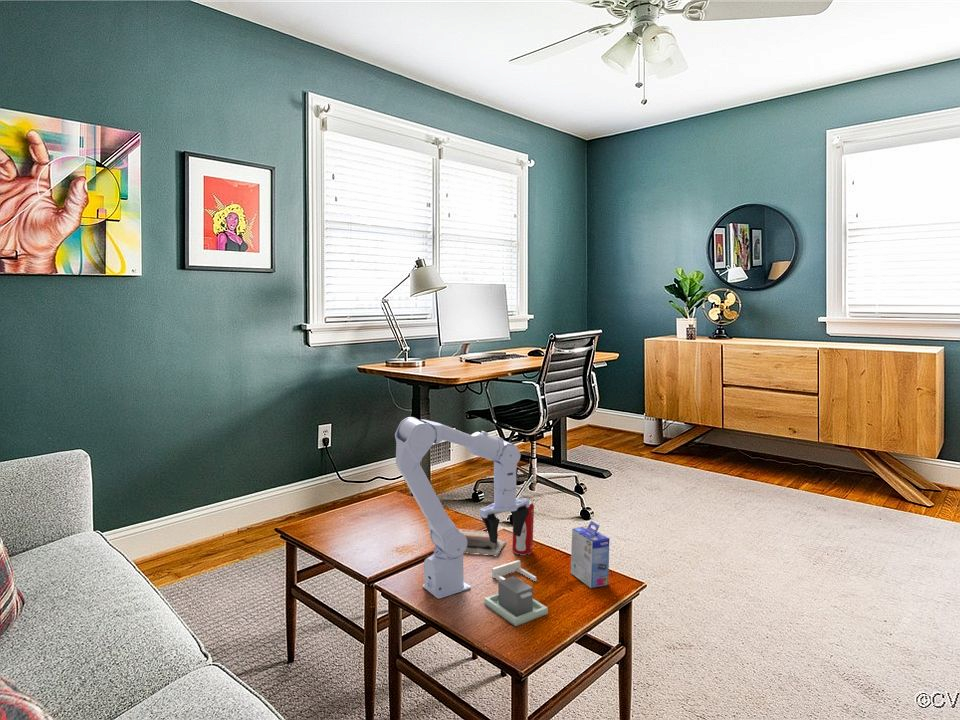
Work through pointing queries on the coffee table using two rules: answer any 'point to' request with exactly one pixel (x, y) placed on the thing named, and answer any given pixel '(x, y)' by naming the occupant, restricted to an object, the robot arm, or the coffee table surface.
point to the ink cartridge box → (590, 556)
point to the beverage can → (525, 534)
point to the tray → (536, 613)
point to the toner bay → (510, 570)
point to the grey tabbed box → (515, 596)
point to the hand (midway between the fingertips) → (505, 538)
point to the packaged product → (481, 542)
